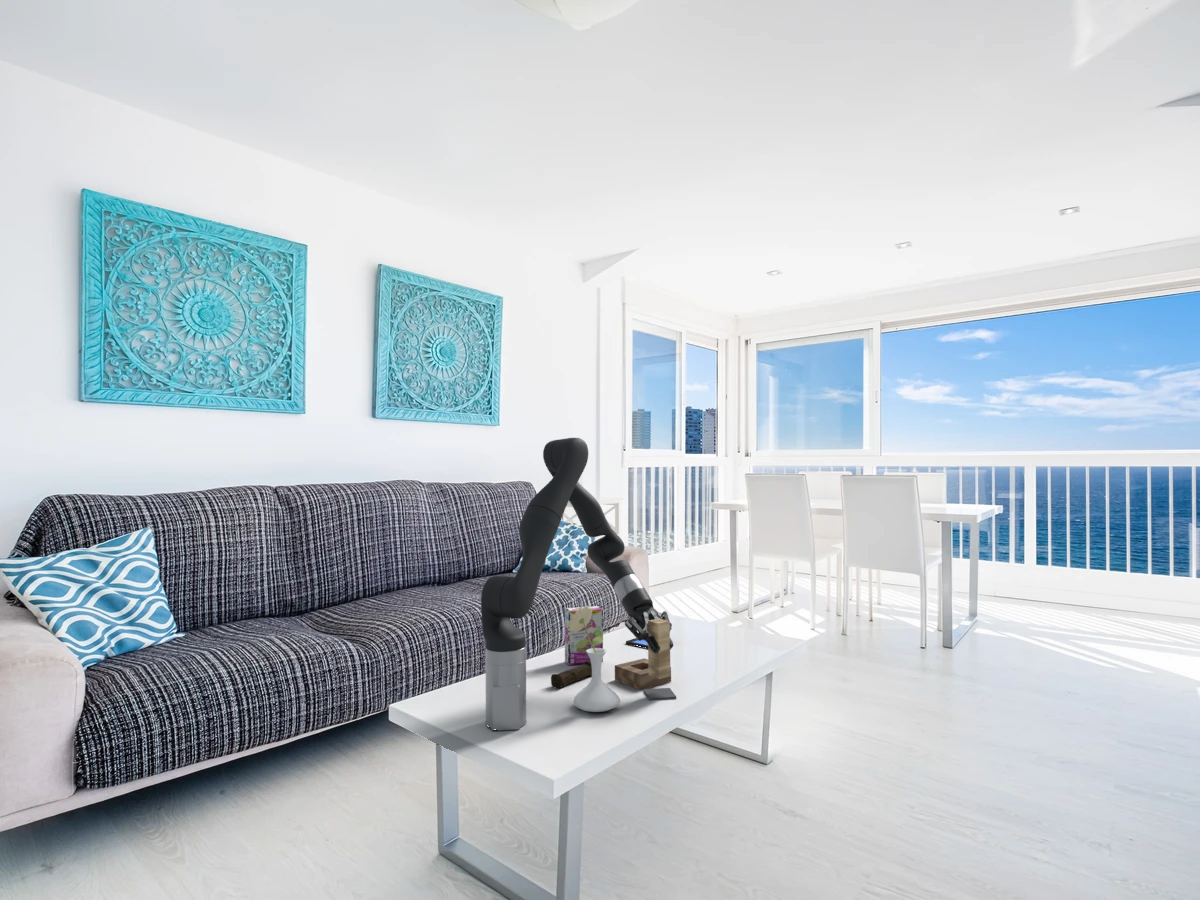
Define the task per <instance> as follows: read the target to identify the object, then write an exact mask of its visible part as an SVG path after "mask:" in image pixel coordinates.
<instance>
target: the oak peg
mask: <svg viewBox="0 0 1200 900" xmlns="http://www.w3.org/2000/svg"><path fill="white" fill-rule="evenodd" d="M670 623H671V622H670V620H669V621H667V620H663V619H654V620H649V621H648V624H649V626H650V631H651V632H652V637H653V636H654V638H655V640H656V642H657V643H658V645H659V646H660V650H659V651H658V653H654V652H653V651H652V650H651V648H650V647H649V645H648V649H647V655H648V657H647V659H648V669H649V676H652V677H655V678H657V679H661V678H665V677H669V676H671V677H672V670H671V671H670V667H671V650H670V638H671V635H670V634H671V630H670Z"/></svg>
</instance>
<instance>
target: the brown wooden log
mask: <svg viewBox="0 0 1200 900" xmlns="http://www.w3.org/2000/svg"><path fill="white" fill-rule="evenodd" d="M586 677H587V678H592V665H591V660H590V659H589V660H586V661H585V662H584V664H580V665H579V666H575V667H573V668H570V669H567V670H564V671H561V672H559V673H553V674H551V676H550V684H551V686H552V688H554V689H558V690H559V689H561V688H564V687H565V686H566V685H568V684H571V683H574V682H575V681H578V680H581V679H583V678H586Z"/></svg>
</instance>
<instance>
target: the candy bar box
mask: <svg viewBox="0 0 1200 900" xmlns="http://www.w3.org/2000/svg"><path fill="white" fill-rule="evenodd" d="M580 607H582V609H583V607H584V606H579V607H578V606H577V607H564V662H565V663H566V665H568V666H575V665H576V666H577V665H583V664H584V662H585V661H586V660H589V659H590V657H589V655H588V654H587V652H586V650H588V649H591V648H593V647H592V646H591V644H590V642H588V643H587V645H586V646H585V647H583V648H575V646H576V644H577V643H578V642H579V641H581V640H583V639H586V640H588V636H587V633H586V630H585V627H583V628H582V629H581V630H579V631H578V632H575V633H573V631H572V632H570V631H568V629H569V627H567V625H568V622H569V621H570V620H571V616H572V615H575V613H576V611H577V610H579V608H580ZM588 607H589V608H592V615H591V620H589V622H588V623H587V625H586V629H587V632H588V635H589V639H590V641H591V643H592V640H593V639H594V638H596V637H597V636H599V635H601V634H602V633H603V634H604V619H603V618H604V609H603V607H601V606H598V605H596V606H595V605H594V606H588ZM588 641H589V640H588ZM594 648H602V649H604V641H603V642H602V643H601V644H599V645H597V646H594ZM603 662H604V658H603V659H602V663H603Z"/></svg>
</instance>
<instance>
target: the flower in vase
mask: <svg viewBox="0 0 1200 900" xmlns="http://www.w3.org/2000/svg"><path fill="white" fill-rule="evenodd" d="M579 607H580V608H579V610H577V611H576V613H575V615H572V616H571V620H570V621H569V622H568V625H567V627H569V629H568V631H570V632H572V631H573V633H575V632H578V631H579V630H581V629H582V628H583V627H585V630H586V633H587V636H588V640H589V641H588V640H586V639H583V640H581V641H579V642H578V643H577V644H576V646H575V648H583V647H585V646H586V645H587V643H588V642H590V644H591V646H592V647H593V648H591V649H588V650H586V652H587V654H588V655H589V657H590V660H591V665H592V677H591V679H590V682H588V684H587V685H586V686H584V687H583V688H582V689H581V690H579V692H578V693H577V694H576V695H575V696H574V699H573V701H572V702H573V704H574V706H575V707H576V708H577V709H580V710H582V711H585V712H590V713H601V712H607V711H611V710H614V709H616V708H617V707H618V706H619V704H620V703H621V699H620V697H619V695H618V694H617V693H616V691H614V690H613V689H612V688H611V687H609V686H608V685H606V683H605V682H604V680H603V679H602V663H603V662H602V659H603V660H604V657H605V655H606V653H607V649H605V648H603V649H602V648H594V646H597V645H599V644H601V643H602V642H603V643H604V632H603V633H602V634H601V635H599V636H597V637H596V638H594V639H593V640H592V643H591V641H590V639H589V635H588V632H587V629H586V625H587V623H588V622H589V620H591V615H592V608H589V607H590V606H589V605H584V606H579ZM582 607H583V609H582Z"/></svg>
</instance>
